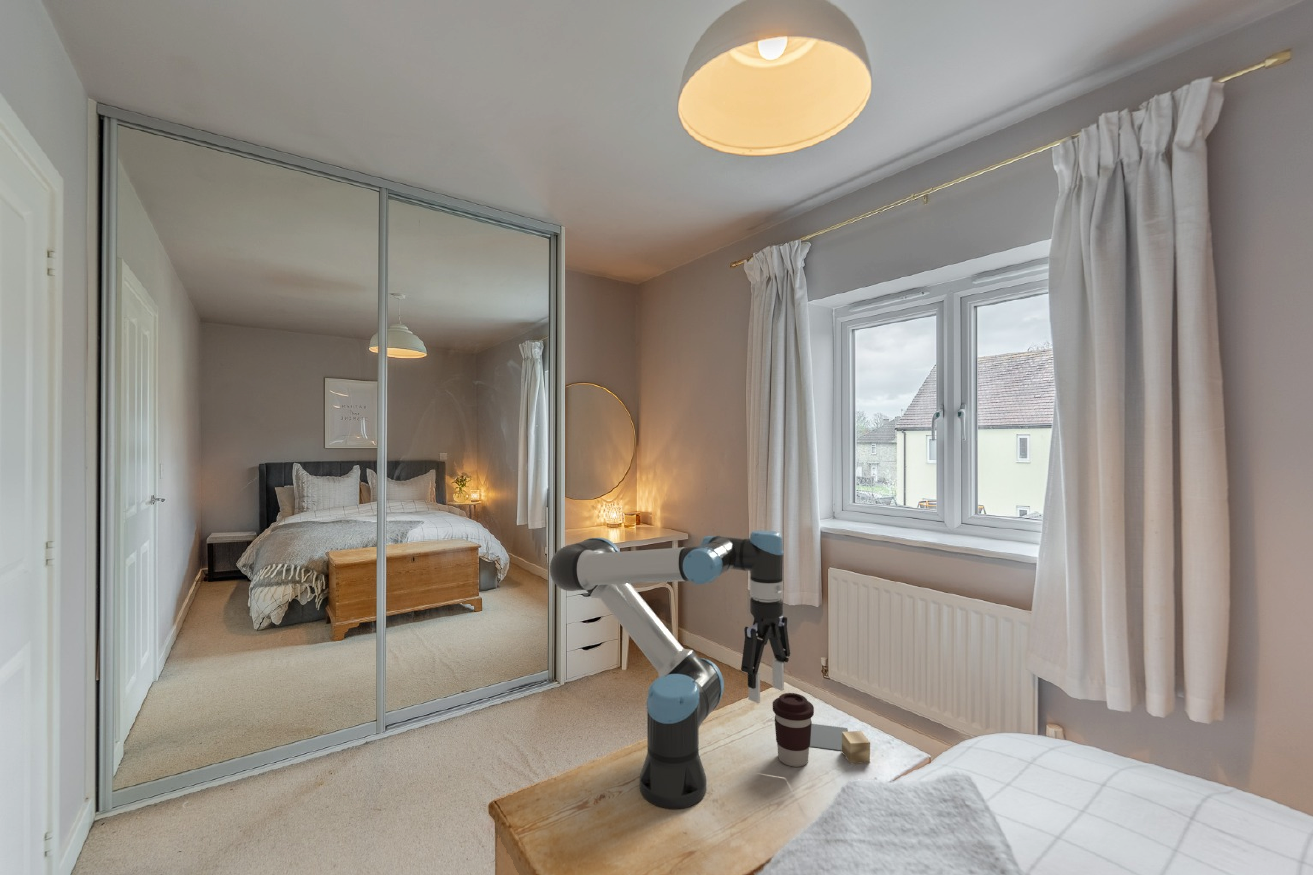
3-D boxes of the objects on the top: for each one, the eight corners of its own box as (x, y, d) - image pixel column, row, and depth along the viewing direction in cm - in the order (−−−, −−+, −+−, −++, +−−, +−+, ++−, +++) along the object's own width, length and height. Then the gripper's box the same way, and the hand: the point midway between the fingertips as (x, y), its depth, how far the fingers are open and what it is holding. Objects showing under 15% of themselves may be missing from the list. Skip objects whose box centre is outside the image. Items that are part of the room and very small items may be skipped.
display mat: (801, 745, 146) (801, 744, 146) (802, 723, 158) (802, 722, 158) (850, 752, 143) (850, 751, 143) (847, 728, 155) (847, 727, 155)
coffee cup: (773, 768, 136) (773, 706, 136) (771, 746, 146) (771, 688, 146) (816, 772, 134) (815, 709, 134) (811, 750, 144) (811, 691, 144)
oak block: (850, 763, 138) (850, 743, 138) (841, 751, 143) (842, 731, 143) (869, 762, 139) (870, 742, 139) (860, 750, 144) (861, 730, 144)
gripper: (751, 610, 123) (751, 715, 123) (805, 592, 137) (805, 686, 137) (724, 603, 128) (724, 703, 128) (779, 586, 143) (779, 676, 143)
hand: (766, 694), depth 133 cm, fingers open, 9 cm apart
